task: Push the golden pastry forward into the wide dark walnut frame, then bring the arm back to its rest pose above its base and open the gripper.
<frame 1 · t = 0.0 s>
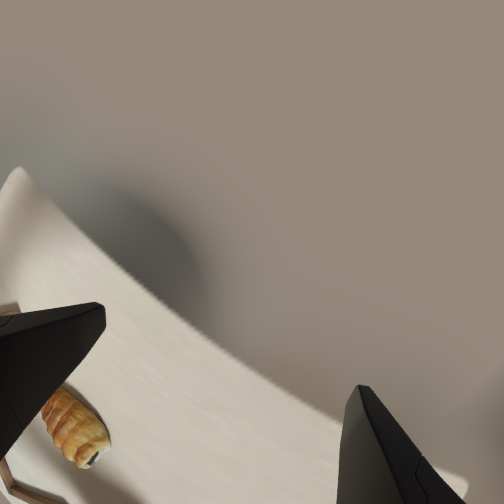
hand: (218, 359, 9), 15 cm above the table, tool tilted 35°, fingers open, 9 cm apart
walnut frame: (11, 417, 22), on the table
pastry: (81, 427, 22), on the table
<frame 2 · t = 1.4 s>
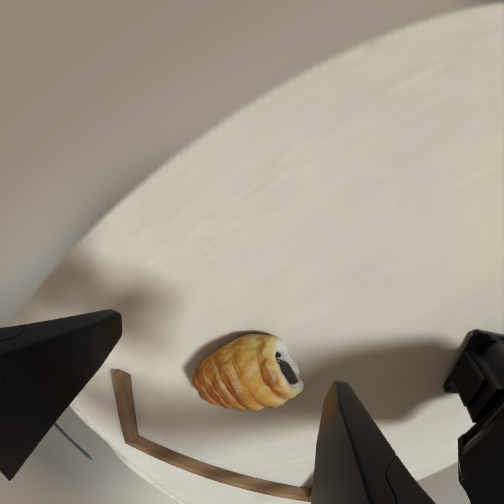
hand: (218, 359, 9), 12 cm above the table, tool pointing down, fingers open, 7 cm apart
walnut frame: (227, 447, 27), on the table
pastry: (253, 366, 24), on the table
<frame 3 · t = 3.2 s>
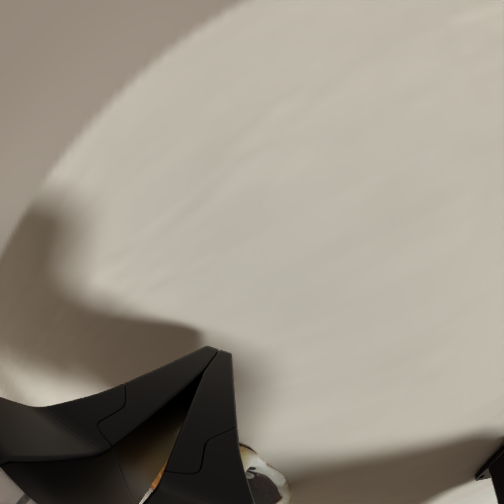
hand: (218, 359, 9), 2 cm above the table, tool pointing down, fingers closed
pastry: (220, 466, 14), on the table
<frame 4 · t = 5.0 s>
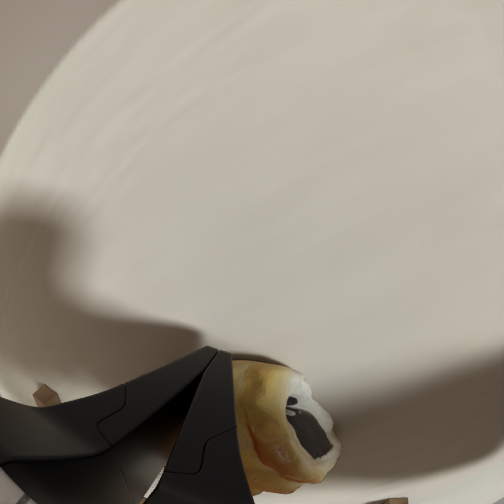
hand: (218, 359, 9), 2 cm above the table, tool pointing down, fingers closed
walnut frame: (202, 502, 15), on the table
pastry: (245, 414, 12), on the table, touching gripper
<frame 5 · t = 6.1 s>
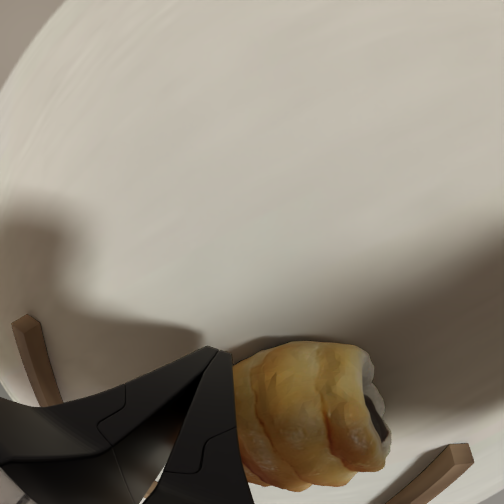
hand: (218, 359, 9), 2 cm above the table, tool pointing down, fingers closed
walnut frame: (211, 471, 14), on the table
pastry: (290, 403, 11), on the table, touching gripper
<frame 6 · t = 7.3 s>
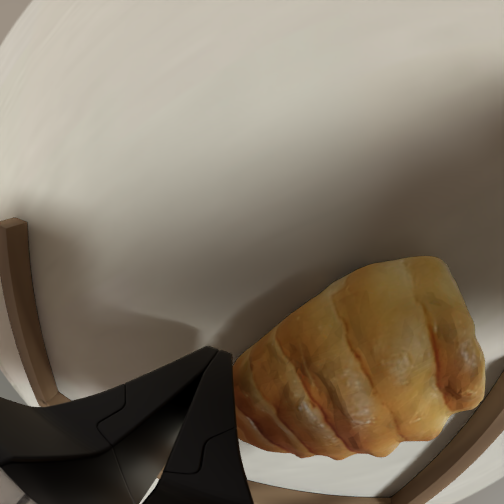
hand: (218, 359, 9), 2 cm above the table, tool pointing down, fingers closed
walnut frame: (221, 414, 12), on the table
pastry: (360, 354, 10), on the table, touching gripper
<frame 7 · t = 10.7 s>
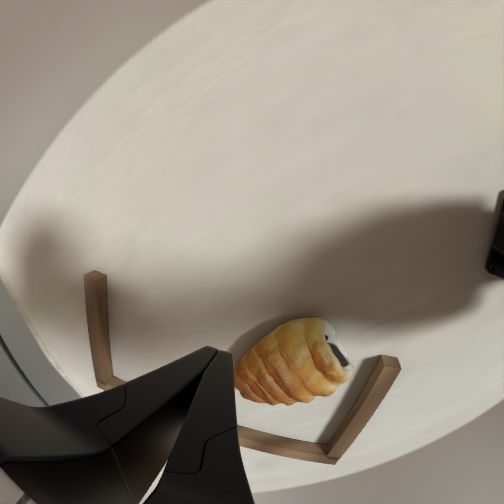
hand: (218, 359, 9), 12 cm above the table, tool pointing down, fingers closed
walnut frame: (221, 378, 24), on the table
pastry: (297, 355, 22), on the table
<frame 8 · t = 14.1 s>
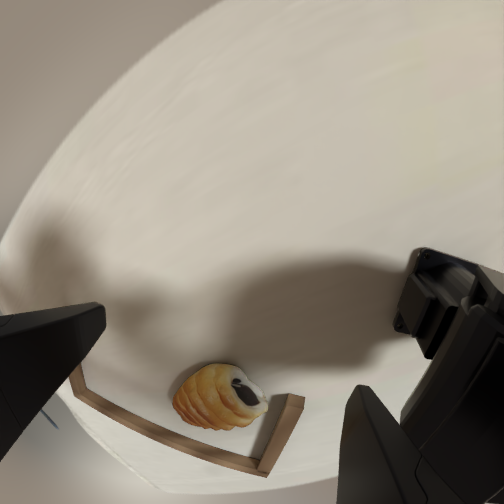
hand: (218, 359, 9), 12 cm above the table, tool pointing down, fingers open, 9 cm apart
walnut frame: (162, 397, 27), on the table
pastry: (223, 390, 25), on the table
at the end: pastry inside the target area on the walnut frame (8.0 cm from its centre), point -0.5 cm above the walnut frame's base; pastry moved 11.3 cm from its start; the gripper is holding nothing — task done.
